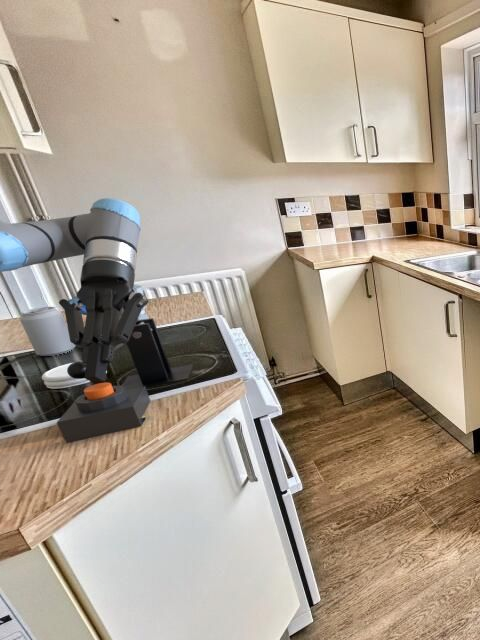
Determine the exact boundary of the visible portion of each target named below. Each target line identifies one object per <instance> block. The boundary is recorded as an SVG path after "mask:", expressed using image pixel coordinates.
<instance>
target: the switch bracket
mask: <svg viewBox="0 0 480 640" xmlns="http://www.w3.org/2000/svg"><path fill="white" fill-rule="evenodd" d="M141 322H144V323H145V324H139V323H141ZM138 324H139V325H138ZM151 329H152V330H151ZM126 346H127V348H128V351H129V353H130V357H131V359H132V362H133V364H134V366H135V370H136V373H137V374H133V375H128V376H127V377H126V378H125V380H124V381H123V383H122V384H121V386H123V387H124V388H125V389H126V390H129V389H134V388H139V387H146V389H147V388H152V387H156V386H161V385H166V384H167V385H168V384H172V383H176V382H182V381H187V380H189V378H190V376H191V373H192V371H193V368H194V366H195V365H194V364H193V363H192V364H187V365H181V366H176V367H171V365H170V362H169V358H168V355H167V353H166V350H165V347H164V345H163V342H162V339H161V336H160V333H159V331H158V328H157V325H156V323H155V319H154V318H153V317H151V318H149V319H143V320H137V322H136V324H135V327H134V329H133V332H132V334H131V336H130V339H129V341H128V342H127V343H126Z"/></svg>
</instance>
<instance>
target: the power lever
mask: <svg viewBox="0 0 480 640" xmlns="http://www.w3.org/2000/svg"><path fill="white" fill-rule="evenodd" d="M139 324H145V323H144V322H141V323H139ZM139 324H138V325H139ZM151 330H152V329H151ZM125 345H126V344H122V343H121V344H118V345H117V346H116V347H115V349H114V352H116V351H117V350H119V349H120V348H122V347H123V346H125ZM73 362H74V363H73ZM73 362H71V363H72V364H70V365H69V366H68V368H67V373H68V375H69V376H71V377H72V378H75V379H83V378H85V371H86V364H84V363H83V362H82V360H78V361H73Z"/></svg>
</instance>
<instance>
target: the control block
mask: <svg viewBox="0 0 480 640" xmlns="http://www.w3.org/2000/svg"><path fill="white" fill-rule="evenodd" d="M112 388H113V390H114V393H113V394H111V395H109V396H106V397H103V398H99V399H94V400H87V398H86V395H85V393H82V394H80V395H79V396H77V397H76V399H74V402H73V403H72V404H71V405H70V406H69V407H68V409H67V410H66V411H65V412H64V413H63V414H62V415H61V417H59V419H58V420H57V421H56V424H57V426H58V428H59V430H60V433H61V434H62V437H63V439H64V441H65V443H66V444H71V443H75V442H79V441H84V440H89V439H93V438H96V437H102V436H105V435H110V434H114V433H118V432H122V431H123V432H124V431H128V430H132V429H136V428H142V426H143V424H144V423H145V421H146V416H145V417H143V416H144V414H145V413H146V411H147V409H148V407H149V405H150V403H151V398H150V395H149V392H148V390H147V388H146V387H139V388H134V389H129V390H126V389H125V388H124V387H123V386H122V385H112Z"/></svg>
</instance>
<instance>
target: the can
mask: <svg viewBox="0 0 480 640" xmlns="http://www.w3.org/2000/svg"><path fill="white" fill-rule="evenodd" d="M20 315H21V316H20V317H19V321H20V323H21V326H22V328H23V330H24V332H25V334H26V336H27V338H28V340H29V341H30V345H31V346H32V348H33V350H34V353H35V355H37V356H41V357H42V356H52V357H56V356H55V355H57V356H60V355H59V354H62V355H64V354H63V353H65V354H68V353H70V352H72V351H74V349H75V348H76V347H77V346H76V345H75V344H73V343H71V342H70V337H69V332H68V326H67V321H66V319H65V318H64V315H63V313H62V311H60V310H58V309H56V306H42V307H36V308H31V309H27V310H23V311H21V312H20ZM71 350H72V351H71ZM69 351H70V352H69ZM67 352H68V353H67Z"/></svg>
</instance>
